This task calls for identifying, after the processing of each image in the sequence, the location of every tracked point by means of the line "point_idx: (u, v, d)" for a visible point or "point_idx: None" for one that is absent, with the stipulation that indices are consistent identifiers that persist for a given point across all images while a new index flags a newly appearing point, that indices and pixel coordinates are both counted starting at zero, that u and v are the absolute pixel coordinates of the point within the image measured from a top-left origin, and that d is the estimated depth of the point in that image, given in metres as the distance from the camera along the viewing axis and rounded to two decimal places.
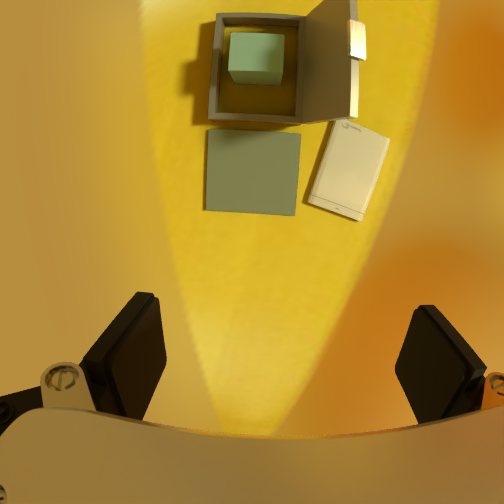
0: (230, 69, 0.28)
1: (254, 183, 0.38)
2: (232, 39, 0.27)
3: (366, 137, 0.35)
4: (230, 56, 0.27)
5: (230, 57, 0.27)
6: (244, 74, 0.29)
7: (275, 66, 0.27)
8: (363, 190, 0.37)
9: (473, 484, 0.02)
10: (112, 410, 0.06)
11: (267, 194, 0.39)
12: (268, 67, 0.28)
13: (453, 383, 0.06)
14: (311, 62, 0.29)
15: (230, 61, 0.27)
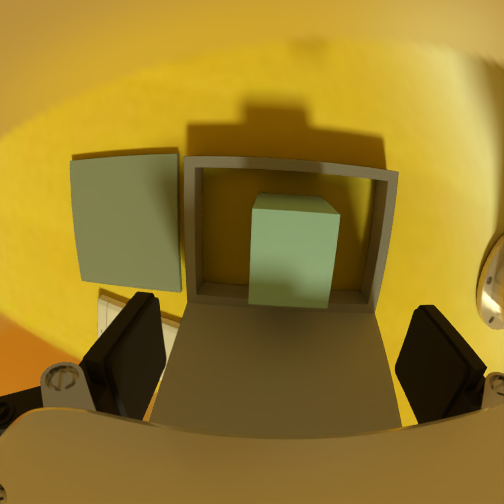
0: (254, 213, 0.17)
1: (106, 228, 0.24)
2: (323, 217, 0.16)
3: None
4: (283, 213, 0.16)
5: (281, 213, 0.16)
6: None
7: (260, 292, 0.18)
8: None
9: (473, 484, 0.02)
10: (112, 410, 0.06)
11: (96, 246, 0.25)
12: (257, 281, 0.18)
13: (453, 383, 0.06)
14: (281, 330, 0.22)
15: (272, 213, 0.16)
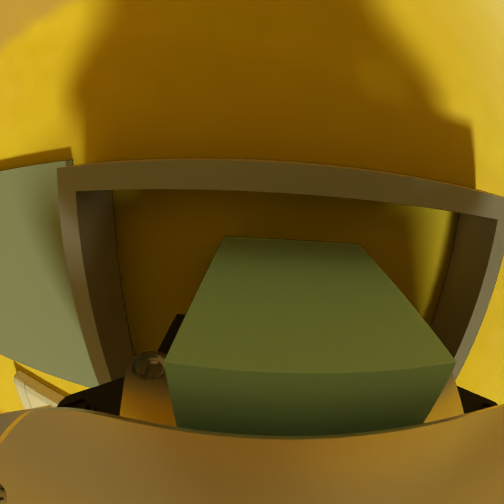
0: (173, 373, 0.04)
1: None
2: (410, 377, 0.04)
3: None
4: (279, 379, 0.04)
5: (270, 380, 0.04)
6: None
7: None
8: None
9: (473, 484, 0.02)
10: None
11: None
12: None
13: None
14: None
15: (236, 379, 0.04)
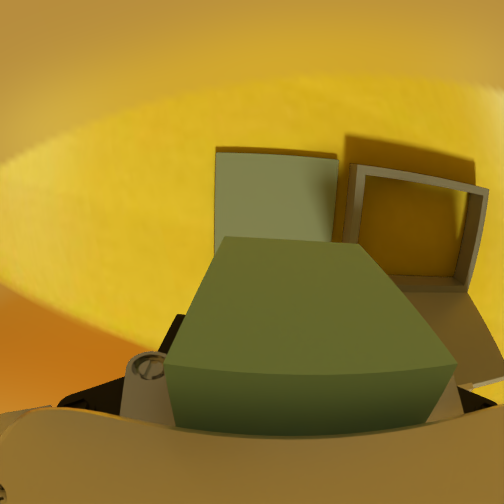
0: (173, 375, 0.04)
1: (257, 223, 0.27)
2: (411, 378, 0.04)
3: None
4: (279, 381, 0.04)
5: (270, 381, 0.04)
6: None
7: None
8: None
9: (473, 484, 0.02)
10: None
11: None
12: None
13: None
14: (418, 307, 0.25)
15: (236, 381, 0.04)
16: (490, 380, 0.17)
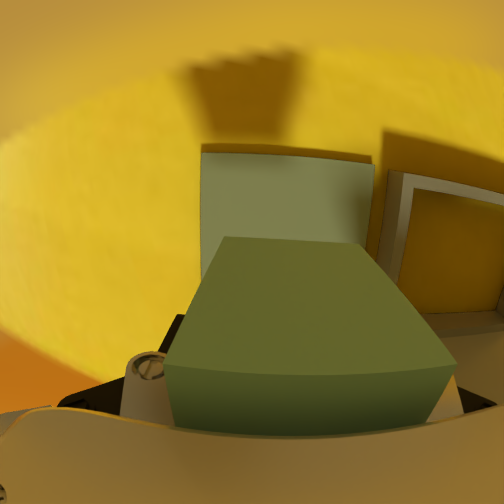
0: (172, 375, 0.04)
1: None
2: (411, 378, 0.04)
3: None
4: (279, 381, 0.04)
5: (270, 382, 0.04)
6: None
7: None
8: None
9: (473, 484, 0.02)
10: None
11: None
12: None
13: None
14: (463, 357, 0.17)
15: (235, 381, 0.04)
16: None
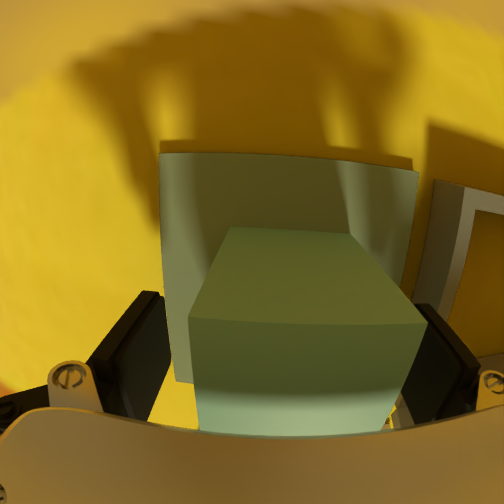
0: (194, 327, 0.06)
1: None
2: (387, 333, 0.05)
3: None
4: (279, 329, 0.06)
5: (272, 330, 0.06)
6: None
7: None
8: None
9: (473, 484, 0.02)
10: (119, 408, 0.06)
11: None
12: None
13: (447, 381, 0.06)
14: None
15: (245, 330, 0.06)
16: None
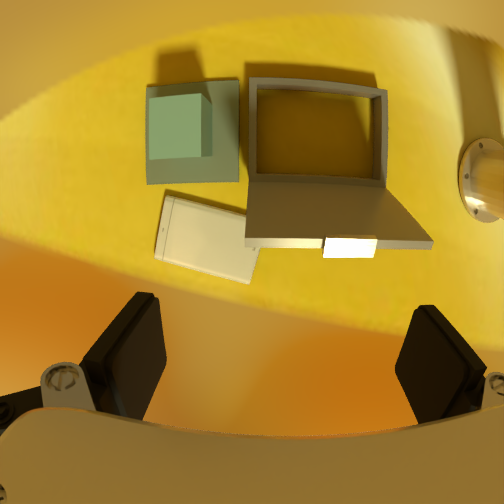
0: (150, 101, 0.24)
1: None
2: (191, 96, 0.24)
3: (246, 257, 0.35)
4: (167, 97, 0.24)
5: (165, 98, 0.24)
6: None
7: (155, 150, 0.25)
8: (187, 257, 0.36)
9: (473, 484, 0.02)
10: (112, 410, 0.06)
11: None
12: (154, 142, 0.25)
13: (453, 383, 0.06)
14: (324, 191, 0.29)
15: (160, 99, 0.24)
16: (406, 242, 0.21)
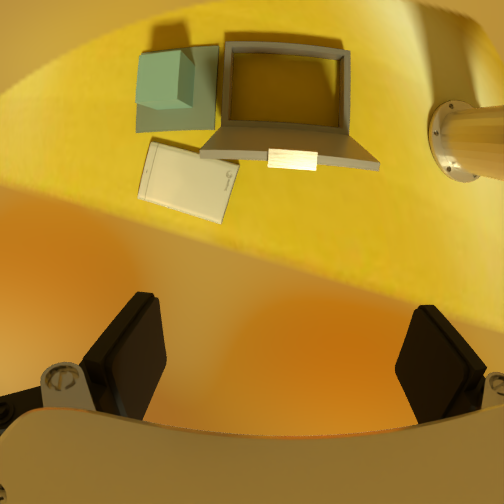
0: (140, 57, 0.26)
1: None
2: (172, 52, 0.26)
3: (219, 196, 0.38)
4: (153, 54, 0.26)
5: (152, 54, 0.26)
6: None
7: (141, 95, 0.28)
8: (166, 196, 0.38)
9: (473, 484, 0.02)
10: (112, 410, 0.06)
11: None
12: (140, 89, 0.28)
13: (453, 383, 0.06)
14: (286, 132, 0.31)
15: (148, 55, 0.26)
16: (350, 160, 0.23)
